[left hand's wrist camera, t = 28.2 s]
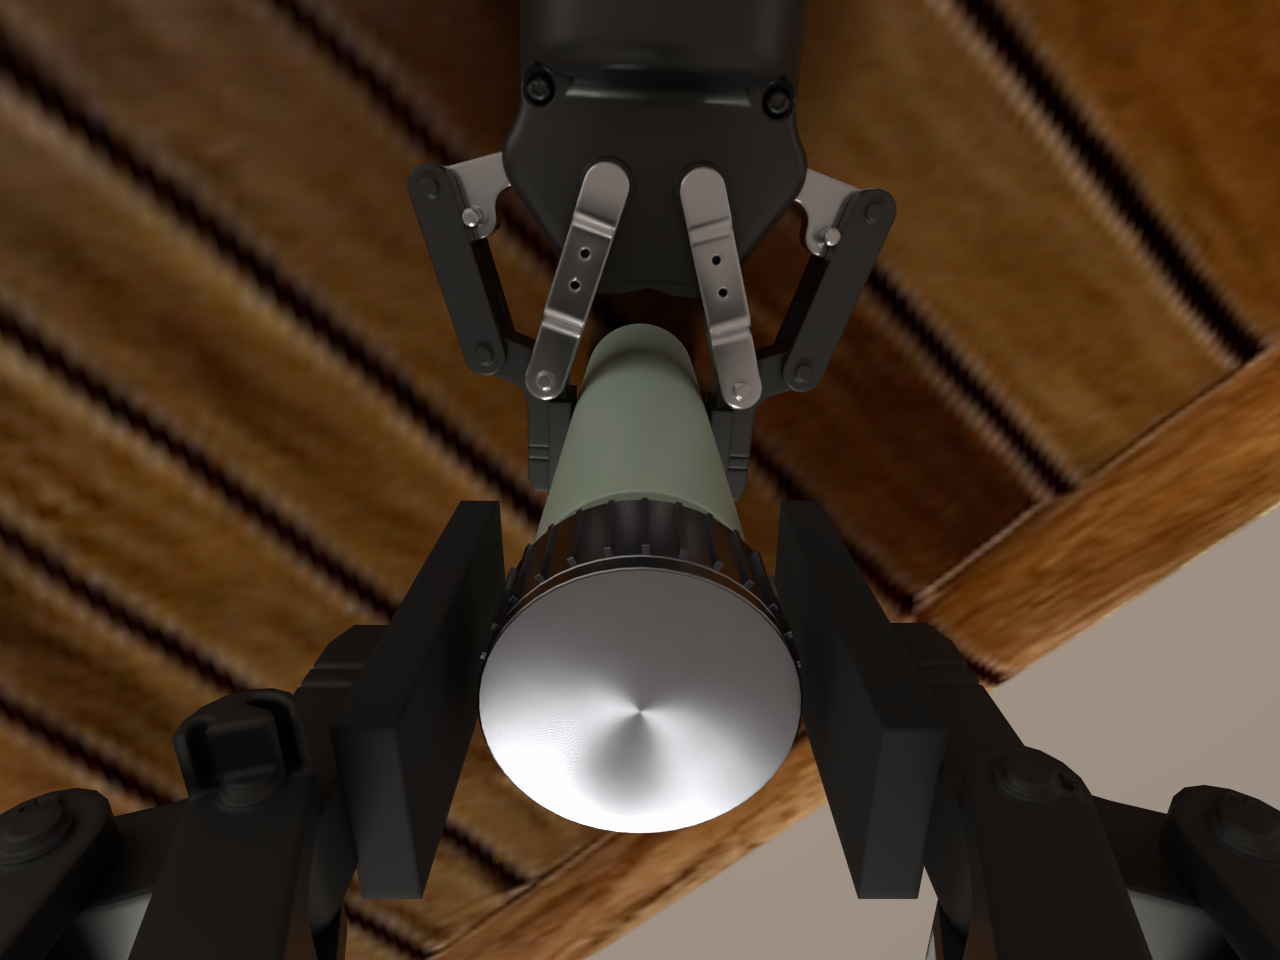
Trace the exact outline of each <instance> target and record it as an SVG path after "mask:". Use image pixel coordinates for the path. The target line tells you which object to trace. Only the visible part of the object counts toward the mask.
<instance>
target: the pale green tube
mask: <svg viewBox="0 0 1280 960" xmlns="http://www.w3.org/2000/svg"><path fill="white" fill-rule="evenodd" d="M642 498H649V500H656V501H664V502H669V503H674V504H675V502H680V503H682V505H683V506H686V507H689V508H692V509H695V510H698V511H700V512H702V513H704V514H706V513H707V512H708V513H710V514H712V515H713V518H714V519H716V520H717V521H719V522H721V523H722V524H724V525H725V526H727V527H728V528H730V529H731V530H732V531H733V530H734V529H736V530H737V531H738V532H739V533H740V537H741V539H742V540H743V541H744V542H745V543H746V541H745V537H744V534H743V531H742V527H741V524H740V521H739V518H738V514H737V511H736V508H735V504H734V501H733V498H732V495H731V491H730V488H729V485H728V481H727V478H726V475H725V471H724V468H723V465H722V462H721V458H720V455H719V452H718V448H717V445H716V442H715V439H714V435H713V432H712V429H711V425H710V422H709V419H708V416H707V412H706V409H705V406H704V402H703V399H702V396H701V392H700V389H699V386H698V383H697V379H696V376H695V373H694V369H693V366H692V363H691V360H690V357H689V355H688V353H687V351H686V349H685V347H684V346H683V345H682V343H681V342H680V341H679V340H678V339H677V338H676V337H675V336H674V335H672V334H671V333H670V332H668V331H666V330H665V329H662V328H660V327H658V326H654V325H650V324H630V325H626V326H622V327H620V328H618V329H616V330H614V331H612V332H610V333H609V334H608V335H606V336H605V337H604V338H603V339H602V340H601V341H600V342H599V343H598V345H597V346H596V347H595V349H594V351H593V353H592V355H591V357H590V360H589V363H588V366H587V370H586V373H585V376H584V380H583V383H582V386H581V390H580V393H579V396H578V399H577V403H576V406H575V409H574V413H573V416H572V419H571V422H570V426H569V429H568V432H567V436H566V439H565V442H564V445H563V449H562V452H561V455H560V459H559V462H558V465H557V469H556V472H555V475H554V478H553V482H552V485H551V488H550V492H549V495H548V498H547V501H546V505H545V508H544V511H543V515H542V518H541V521H540V524H539V528H538V531H537V534H536V538H535V541H534V543H535V542H536V541H537V540H538V539H539V538H540V537H541V536H542V535H543V534H545V533H546V532H547V530H548V526H550V525H551V524H553V523H554V525H556V524H558V523H560V522H561V521H563V520H564V519H566V518H568V517H569V516H572V515H574V514H576V511H577V510H579V509H581V508H582V509H583V510H585V509H588V508H591V507H595V506H598V505H601V504H605V503H608V501H609V500H615V502H617V501H623V500H642Z"/></svg>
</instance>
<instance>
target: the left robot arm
mask: <svg viewBox="0 0 1280 960" xmlns="http://www.w3.org/2000/svg"><path fill="white" fill-rule="evenodd" d="M775 584H776V587H777V589H778V592H779V595H780V598H781V601H782V604H783V607H784V610H785V612H786V615H787V618H788V621H789V624H790V627H791V630H792V633H793V636H794V637H793V640H794V643H795V646H796V649H797V652H798V655H799V658H800V661H801V667H799V672H800V675H801V681H802V689H803V711H802V719H803V722H804V725H805V728H806V731H807V735H808V738H809V741H810V744H811V748H812V751H813V754H814V757H815V760H816V764H817V767H818V770H819V773H820V777H821V780H822V783H823V786H824V790H825V793H826V796H827V799H828V802H829V806H830V809H831V812H832V815H833V818H834V822H835V825H836V828H837V831H838V835H839V838H840V841H841V844H842V848H843V851H844V854H845V857H846V861H847V864H848V867H849V870H850V873H851V876H852V880H853V883H854V886H855V890H856V893H857V896H858V899H917V898H918V894H919V889H920V884H921V878H922V873H923V868H924V867H925V869H926V871H927V873H928V876H929V878H930V881H931V883H932V885H933V888H934V890H935V893H936V895H937V897H938V901H937V906H936V911H935V916H934V921H933V925H932V930H931V935H930V939H929V944H928V949H927V954H926V960H1280V811H1279V810H1277V809H1275V808H1273V807H1272V806H1270V805H1268V804H1266V803H1264V802H1263V801H1261V800H1259V799H1256V798H1253V797H1251V796H1248V795H1245V794H1243V793H1240V792H1237V791H1234V790H1231V789H1226V788H1220V787H1213V786H1207V785H1200V786H1193V787H1185V788H1183V789H1182V790H1181V791H1180V792H1178V793H1177V794H1176V795H1175V796H1173V799H1172V802H1171V804H1170V807H1169V810H1168V813H1167V814H1165V813H1161V812H1156V811H1152V810H1148V809H1143V808H1139V807H1135V806H1131V805H1126V804H1122V803H1118V802H1113V801H1109V800H1106V799H1103V798H1100V797H1096V796H1093V795H1091V793H1090V792H1089V790H1088V788H1087V787H1086V785H1085V784H1084V782H1083V781H1082V779H1081V778H1080V777H1079V776H1078V775H1077V774H1076V773H1075V772H1073V771H1072V770H1071V769H1070V768H1069V767H1067V766H1066V765H1065V764H1064V763H1063V762H1061V761H1059V760H1057V759H1055V758H1054V757H1052V756H1050V755H1048V754H1046V753H1044V752H1042V751H1040V750H1037V749H1033V748H1030V747H1027V746H1024V744H1023V743H1022V741H1021V740H1020V739H1019V737H1018V736H1017V734H1016V733H1015V731H1014V730H1013V729H1012V727H1011V726H1010V724H1009V723H1008V721H1007V720H1006V718H1005V717H1004V716H1003V714H1002V713H1001V711H1000V710H999V708H998V707H997V706H996V704H995V703H994V701H993V700H992V698H991V697H990V695H989V694H988V693H987V691H986V690H985V688H984V687H983V685H979V680H978V678H977V677H976V675H975V674H974V673H973V671H972V670H971V668H970V667H967V662H966V661H965V660H964V658H963V657H962V655H961V654H960V652H959V651H958V650H957V648H956V647H955V645H954V644H953V642H952V641H951V640H949V639H948V638H946V637H945V636H944V635H942V634H941V633H940V632H938V631H937V630H935V629H934V628H933V627H931V626H930V625H928V624H927V623H890V622H889V620H888V618H887V617H886V615H885V613H884V611H883V610H882V608H881V606H880V605H879V603H878V601H877V599H876V598H875V596H874V594H873V593H872V591H871V589H870V587H869V586H868V584H867V582H866V581H865V579H864V577H863V575H862V574H861V572H860V570H859V569H858V567H857V565H856V563H855V562H854V560H853V558H852V557H851V555H850V553H849V551H848V550H847V548H846V546H845V545H844V543H843V541H842V539H841V538H840V536H839V534H838V533H837V531H836V529H835V527H834V526H833V524H832V522H831V521H830V519H829V517H828V515H827V514H826V512H825V510H824V509H823V507H822V505H821V503H820V502H819V501H781V505H780V518H779V531H778V544H777V557H776V570H775ZM504 586H505V570H504V557H503V544H502V531H501V518H500V505H499V501H461V502H460V503H459V505H458V507H457V509H456V510H455V512H454V514H453V515H452V517H451V519H450V521H449V522H448V524H447V526H446V527H445V529H444V531H443V533H442V534H441V536H440V538H439V539H438V541H437V543H436V545H435V546H434V548H433V550H432V551H431V553H430V555H429V557H428V558H427V560H426V562H425V563H424V565H423V567H422V569H421V570H420V572H419V574H418V575H417V577H416V579H415V581H414V582H413V584H412V586H411V587H410V589H409V591H408V593H407V594H406V596H405V598H404V599H403V601H402V603H401V605H400V606H399V608H398V610H397V611H396V613H395V615H394V617H393V618H392V620H391V622H390V623H389V625H354V626H352V627H351V628H350V629H348V630H347V631H345V632H344V633H343V634H341V635H340V636H338V637H337V638H336V639H334V640H333V641H332V642H330V643H329V644H328V645H327V647H326V648H325V650H324V651H323V652H322V654H321V655H320V657H319V658H318V660H317V661H316V663H315V664H314V669H311V670H310V671H309V673H308V674H307V676H306V677H305V678H304V680H303V681H302V685H301V687H298V689H297V690H296V691H295V693H294V694H293V695H292V694H291V693H290V692H286V691H282V690H277V689H273V688H269V689H250V690H246V691H242V692H239V693H235V694H231V695H227V696H224V697H222V698H220V699H218V700H216V701H214V702H212V703H210V704H207V705H205V706H203V707H201V708H200V709H199V710H197V711H196V712H195V713H193V714H192V715H191V716H189V717H188V718H187V719H185V720H184V721H183V722H182V723H181V725H180V726H179V728H178V729H177V730H176V732H175V733H174V734H173V736H172V737H171V738H172V741H173V744H174V748H175V751H176V754H177V758H178V761H179V765H180V768H181V771H182V775H183V778H184V781H185V785H186V788H187V791H188V795H189V796H188V798H187V799H184V800H180V801H177V802H174V803H171V804H166V805H162V806H158V807H154V808H149V809H145V810H141V811H136V812H132V813H128V814H124V815H119V816H115V817H114V816H113V813H112V810H111V807H110V804H109V801H108V799H106V798H105V797H104V796H103V795H101V794H100V793H99V792H98V791H96V790H89V789H81V788H73V789H67V790H61V791H55V792H50V793H47V794H44V795H42V796H39V797H36V798H33V799H31V800H28V801H25V802H22V803H20V804H19V805H17V806H15V807H13V808H12V809H10V810H8V811H6V812H4V813H3V814H1V815H0V960H345V948H346V937H347V923H346V917H345V911H344V906H343V899H344V896H345V894H346V891H347V889H348V887H349V884H350V882H351V880H352V877H353V875H354V872H355V870H356V868H357V873H358V878H359V884H360V889H361V894H362V899H422V896H423V893H424V890H425V886H426V883H427V880H428V877H429V873H430V870H431V867H432V864H433V861H434V857H435V854H436V851H437V848H438V844H439V841H440V838H441V835H442V832H443V828H444V825H445V822H446V819H447V815H448V812H449V809H450V806H451V802H452V799H453V796H454V793H455V790H456V786H457V783H458V780H459V777H460V773H461V770H462V767H463V764H464V760H465V757H466V754H467V751H468V748H469V744H470V741H471V738H472V735H473V731H474V728H475V725H476V722H477V719H478V710H477V689H478V681H479V676H480V672H481V669H482V665H483V662H484V659H483V658H480V655H481V651H482V648H483V646H484V643H485V640H486V637H487V634H488V631H489V628H490V625H491V622H492V620H493V617H494V614H495V611H496V608H497V605H498V602H499V599H500V596H501V594H502V592H503V589H504Z"/></svg>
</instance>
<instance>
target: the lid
mask: <svg viewBox="0 0 1280 960" xmlns="http://www.w3.org/2000/svg"><path fill="white" fill-rule="evenodd" d="M793 637H794V636H793V633H792V630H791V627H790V624H789V621H788V618H787V615H786V612H785V610H784V607H783V604H782V601H781V598H780V595H779V592H778V589H777V587H776V584H775V581H774V578H773V576H772V575H771V576H767V574H766V571H765V568H764V565H763V562H762V559H761V556H760V554H759V552H758V551H757V550H756V551H755V552H753V551H752V550H751V549H750V547H749V546H748V545H747V544H746V543H745V542H744V541H743V540H742V539H741V537H740V533H739V532H738V531H737V530H736V529H734V530H733V531H732V530H731V529H730V528H728V527H727V526H725V525H724V524H722V523H721V522H719V521H717V520H716V519H714V518H713V515H712V514H710V513H708V512H707V513H706V514H704V513H702V512H700V511H698V510H695V509H692V508H689V507H686V506H683V505H682V503H680V502H675V504H674V503H669V502H664V501H656V500H649V498H642V500H623V501H617V502H615V500H609V501H608V503H605V504H601V505H598V506H595V507H591V508H588V509H585V510H583V509H582V508H581V509H579V510H577V511H576V514H574V515H572V516H569V517H568V518H566V519H564V520H563V521H561V522H560V523H558V524H556V525H554V523H553V524H551V525H550V526H548V530H547V532H546V533H545V534H543V535H542V536H541V537H540V538H539V539H538V540H537V541H536V542H535V543H534V544H533V545H531V544H530V543H529V544H528V545H527V546H526V548H525V551H524V554H523V557H522V559H521V561H520V562H519V564H518V566H517V568H516V569H515V568H513V567H512V568H511V570H510V572H509V575H508V577H507V580H506V583H505V586H504V589H503V592H502V594H501V596H500V599H499V602H498V605H497V608H496V611H495V614H494V617H493V620H492V622H491V625H490V628H489V631H488V634H487V637H486V640H485V643H484V646H483V648H482V651H481V655H480V658H483V659H484V662H483V665H482V669H481V672H480V676H479V681H478V689H477V710H478V716H479V722H480V727H481V730H482V733H483V736H484V739H485V742H486V744H487V746H488V748H489V750H490V752H491V754H492V756H493V758H494V760H495V761H496V763H497V764H498V765H499V767H500V768H501V770H502V771H503V773H504V774H505V775H506V776H507V777H508V778H509V779H510V780H511V781H512V783H513V784H514V785H515V786H516V787H517V788H518V789H520V790H521V791H522V792H523V793H524V794H526V795H527V796H528V797H529V798H530V799H532V800H533V801H535V802H536V803H538V804H539V805H541V806H542V807H544V808H545V809H547V810H549V811H551V812H553V813H555V814H557V815H559V816H561V817H563V818H566V819H569V820H571V821H574V822H576V823H579V824H582V825H586V826H590V827H594V828H597V829H603V830H609V831H615V832H626V833H656V832H664V831H672V830H678V829H682V828H686V827H690V826H695V825H698V824H701V823H703V822H706V821H709V820H712V819H714V818H717V817H719V816H721V815H723V814H725V813H727V812H729V811H731V810H733V809H734V808H736V807H737V806H739V805H741V804H742V803H744V802H746V801H747V800H748V799H750V798H751V797H752V796H753V795H755V794H756V793H757V792H758V791H760V790H761V789H762V788H763V787H764V786H765V785H766V784H767V783H768V782H769V781H770V780H771V779H772V777H773V776H774V775H775V774H776V772H777V771H778V770H779V768H780V767H781V766H782V764H783V763H784V762H785V760H786V758H787V756H788V754H789V752H790V751H791V749H792V747H793V744H794V742H795V739H796V736H797V733H798V731H799V727H800V722H801V717H802V711H803V689H802V681H801V675H800V672H799V667H801V661H800V658H799V655H798V652H797V649H796V646H795V643H794V640H793Z"/></svg>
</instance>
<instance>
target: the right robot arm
mask: <svg viewBox="0 0 1280 960" xmlns="http://www.w3.org/2000/svg"><path fill="white" fill-rule="evenodd" d="M807 2H808V0H520V99H519V105H518V109H517V113H516V116H515V118H514V121H513V123H512V125H511V127H510V129H509V131H508V133H507V135H506V137H505V140H504V143H503V148H502V151H501V152H498V153H494V154H491V155H487V156H483V157H480V158H476V159H472V160H469V161H465V162H461V163H458V164H454V165H450V166H444V165H437V164H429V163H425V164H420V165H418V166H417V167H415V168H414V169H413V170H412V171H411V173H410V175H409V177H408V183H407V186H408V192H409V195H410V198H411V201H412V204H413V207H414V210H415V213H416V216H417V219H418V222H419V225H420V228H421V231H422V234H423V237H424V240H425V243H426V246H427V249H428V251H429V254H430V257H431V260H432V263H433V266H434V269H435V272H436V275H437V278H438V281H439V284H440V287H441V290H442V293H443V296H444V299H445V302H446V305H447V308H448V311H449V314H450V317H451V320H452V323H453V326H454V329H455V332H456V335H457V337H458V340H459V343H460V346H461V349H462V352H463V355H464V358H465V361H466V363H467V365H468V367H469V368H470V369H471V370H472V371H473V372H475V373H477V374H479V375H483V376H489V375H494V376H497V377H499V378H502V379H504V380H507V381H509V382H511V383H513V384H515V385H517V386H518V387H519V388H520V389H521V390H522V391H523V393H524V395H525V397H526V400H527V405H528V477H529V480H530V482H531V484H532V487H533V489H534V491H548V495H549V492H550V488H551V485H552V482H553V478H554V475H555V472H556V469H557V465H558V462H559V459H560V455H561V452H562V449H563V445H564V442H565V439H566V436H567V432H568V429H569V426H570V422H571V419H572V416H573V413H574V409H575V406H576V403H577V386H575V385H571V368H572V365H573V362H574V359H575V356H576V353H577V350H578V347H579V344H580V341H581V338H582V335H583V332H584V329H585V326H586V323H587V320H588V318H589V315H590V312H591V309H592V306H593V303H594V300H595V297H596V294H597V293H608V294H624V293H629V292H633V291H638V290H642V289H653V290H656V291H659V292H662V293H665V294H668V295H671V296H674V297H686V298H697V301H698V306H699V310H700V315H701V319H702V322H703V326H704V330H705V335H706V339H707V344H708V348H709V353H710V357H711V362H712V366H713V371H714V380H713V392H712V393H708V392H706V394H705V409H706V412H707V416H708V419H709V422H710V425H711V429H712V432H713V435H714V439H715V442H716V445H717V448H718V452H719V455H720V458H721V462H722V465H723V468H724V471H725V475H726V478H727V481H728V485H729V488H730V491H731V495H732V498H733V500H736V501H739V499H740V497H741V495H742V493H743V492H744V490H745V488H746V484H747V475H748V466H749V457H750V448H751V439H752V430H753V421H754V414H755V412H756V409H757V407H758V406H759V405H760V404H761V403H762V402H763V401H764V400H765V399H766V398H768V397H770V396H773V395H776V394H780V393H783V392H786V391H790V390H794V391H796V392H807V391H810V390H812V389H814V388H815V387H816V386H817V385H818V384H819V383H820V381H821V380H822V377H823V375H824V373H825V371H826V369H827V367H828V364H829V362H830V360H831V358H832V356H833V353H834V351H835V349H836V347H837V345H838V342H839V340H840V338H841V336H842V334H843V331H844V329H845V327H846V325H847V323H848V320H849V318H850V316H851V314H852V312H853V309H854V307H855V305H856V303H857V301H858V298H859V296H860V294H861V292H862V290H863V287H864V285H865V283H866V281H867V279H868V276H869V274H870V272H871V270H872V268H873V265H874V263H875V261H876V259H877V257H878V254H879V252H880V250H881V248H882V246H883V244H884V241H885V239H886V237H887V235H888V233H889V230H890V228H891V226H892V224H893V222H894V219H895V216H896V203H895V200H894V198H893V197H892V196H891V195H890V194H889V193H888V192H887V191H884V190H881V189H874V188H856V187H854V186H851V185H849V184H846V183H843V182H841V181H838V180H836V179H833V178H831V177H828V176H826V175H823V174H821V173H818V172H816V171H813V170H811V169H808V168H807V158H806V153H805V150H804V148H803V146H802V143H801V140H800V138H799V134H798V130H797V124H796V100H797V90H798V81H799V73H800V64H801V55H802V46H803V37H804V29H805V20H806V11H807ZM512 187H513V189H514V190H515V192H516V193H517V195H518V196H519V198H520V199H521V201H522V202H523V204H524V205H525V207H526V208H527V210H528V211H529V213H530V214H531V216H532V217H533V219H534V220H535V222H536V223H537V225H538V227H539V228H540V230H541V231H542V233H543V234H544V236H545V237H546V239H547V240H548V242H549V243H550V245H551V246H552V248H553V249H554V251H555V252H556V254H557V255H558V257H559V258H560V261H559V264H558V268H557V271H556V274H555V277H554V280H553V284H552V287H551V290H550V293H549V296H548V300H547V303H546V306H545V310H544V313H543V319H542V323H541V326H540V330H539V333H538V336H537V339H536V340H535V339H533V338H530V337H528V336H525V335H523V334H521V333H518V332H516V331H515V328H514V325H513V322H512V319H511V315H510V312H509V309H508V306H507V302H506V299H505V296H504V293H503V289H502V286H501V283H500V280H499V276H498V273H497V270H496V267H495V263H494V260H493V257H492V253H491V250H490V247H489V244H488V240H487V237H489V236H491V235H493V234H494V233H496V232H497V230H498V229H499V227H500V225H501V221H502V214H501V201H502V198H503V196H504V194H505V193H506V192H507V191H508V190H509V189H510V188H512ZM792 203H794V204H795V205H796V206H797V207H798V209H799V210H800V213H801V216H802V225H801V229H800V234H799V238H800V243H801V245H802V247H803V248H804V249H805V250H806V251H807V252H808V253H811V254H812V255H811V257H810V259H809V262H808V264H807V266H806V269H805V271H804V274H803V276H802V278H801V281H800V283H799V285H798V288H797V290H796V292H795V295H794V297H793V300H792V302H791V304H790V307H789V309H788V311H787V314H786V316H785V318H784V321H783V323H782V326H781V328H780V330H779V333H778V335H777V337H776V340H775V342H774V344H773V345H770V346H766V347H763V348H760V349H757V350H754V345H753V340H752V334H751V321H750V315H749V310H748V305H747V299H746V294H745V289H744V284H743V279H742V274H741V269H740V267H741V265H742V264H743V263H744V262H745V261H746V259H747V258H748V257H749V256H750V254H751V253H752V252H753V251H754V250H755V248H756V247H757V246H758V245H759V244H760V242H761V241H762V240H763V239H764V237H765V236H766V235H767V234H768V233H769V231H770V230H771V229H772V228H773V227H774V225H775V224H776V223H777V222H778V220H779V219H780V218H781V217H782V216H783V214H784V213H785V212H786V211H787V210H788V208H789V207H790V206H791V205H792Z"/></svg>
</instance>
